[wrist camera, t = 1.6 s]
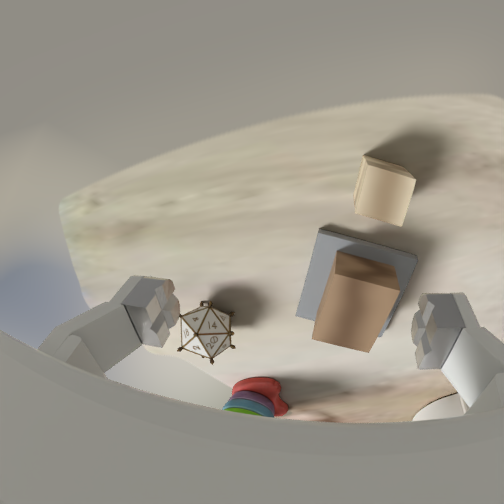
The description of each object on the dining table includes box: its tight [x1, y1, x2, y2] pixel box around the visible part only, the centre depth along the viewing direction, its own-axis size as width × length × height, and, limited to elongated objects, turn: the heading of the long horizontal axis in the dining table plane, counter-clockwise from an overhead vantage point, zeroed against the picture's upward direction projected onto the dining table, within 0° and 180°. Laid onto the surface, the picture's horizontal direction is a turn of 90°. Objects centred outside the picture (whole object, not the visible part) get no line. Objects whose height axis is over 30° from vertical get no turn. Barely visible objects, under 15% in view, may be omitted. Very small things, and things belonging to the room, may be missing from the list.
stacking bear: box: [222, 378, 288, 418], centre depth 42 cm, size 11×10×18 cm
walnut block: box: [312, 251, 400, 353], centre depth 31 cm, size 7×9×5 cm
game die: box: [177, 301, 235, 365], centre depth 40 cm, size 9×8×10 cm
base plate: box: [296, 229, 418, 337], centre depth 34 cm, size 12×12×1 cm
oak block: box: [353, 155, 416, 227], centre depth 26 cm, size 4×4×6 cm
